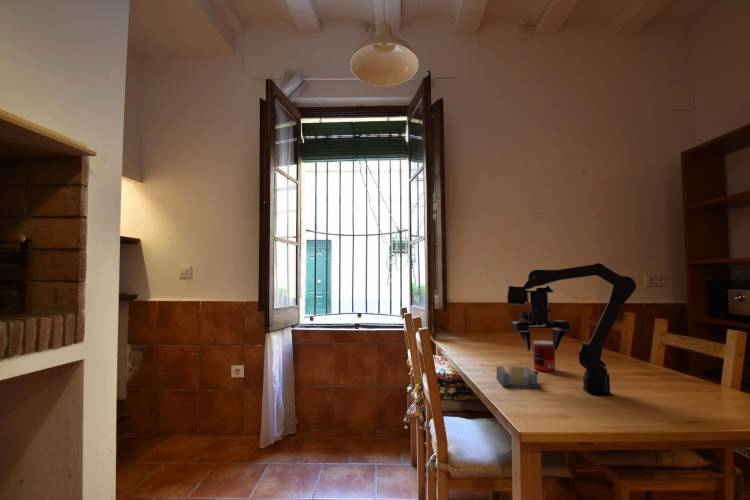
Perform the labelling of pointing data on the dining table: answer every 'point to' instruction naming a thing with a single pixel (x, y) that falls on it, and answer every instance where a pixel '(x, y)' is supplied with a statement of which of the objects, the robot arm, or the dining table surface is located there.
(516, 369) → the block
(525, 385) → the vise base
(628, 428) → the dining table surface
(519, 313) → the robot arm
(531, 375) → the jaw
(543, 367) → the canned food
